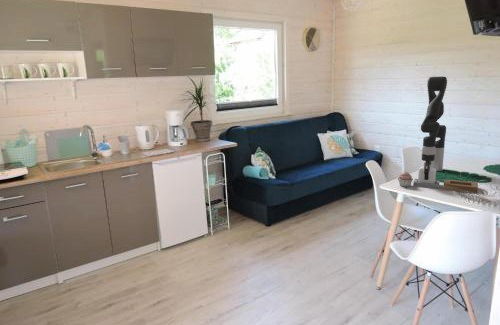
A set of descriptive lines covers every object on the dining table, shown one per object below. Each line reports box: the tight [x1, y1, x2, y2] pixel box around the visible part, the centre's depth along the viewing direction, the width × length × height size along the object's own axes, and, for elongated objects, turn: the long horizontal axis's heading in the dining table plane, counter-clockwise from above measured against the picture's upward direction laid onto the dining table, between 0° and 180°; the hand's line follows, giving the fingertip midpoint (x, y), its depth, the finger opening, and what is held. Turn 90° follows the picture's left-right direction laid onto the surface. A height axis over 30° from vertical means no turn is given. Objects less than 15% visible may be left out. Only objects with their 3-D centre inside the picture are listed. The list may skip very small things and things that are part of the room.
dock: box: [442, 179, 479, 194], centre depth 222 cm, size 11×18×4 cm, turn 59°
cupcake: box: [397, 170, 414, 188], centre depth 232 cm, size 9×9×10 cm
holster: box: [412, 178, 441, 189], centre depth 232 cm, size 8×14×2 cm, turn 59°
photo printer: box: [417, 166, 437, 183], centre depth 231 cm, size 10×4×12 cm, turn 67°
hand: (426, 178), depth 231 cm, fingers closed on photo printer, 4 cm apart
